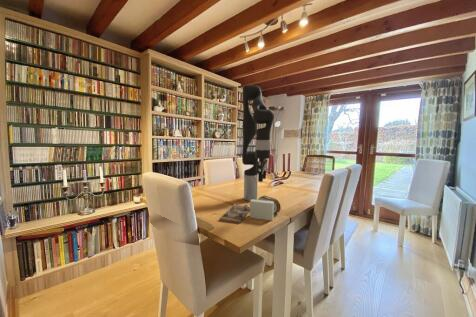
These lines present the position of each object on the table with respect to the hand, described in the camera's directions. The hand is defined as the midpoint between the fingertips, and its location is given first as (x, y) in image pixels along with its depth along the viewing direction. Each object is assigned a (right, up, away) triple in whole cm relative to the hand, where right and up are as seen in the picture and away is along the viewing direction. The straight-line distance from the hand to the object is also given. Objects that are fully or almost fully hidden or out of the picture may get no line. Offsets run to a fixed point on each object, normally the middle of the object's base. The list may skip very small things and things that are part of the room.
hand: (262, 180), depth 106 cm
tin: (+5, -20, +12) cm, 23 cm away
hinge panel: (-13, -20, +6) cm, 25 cm away
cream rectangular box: (0, -20, +2) cm, 20 cm away
